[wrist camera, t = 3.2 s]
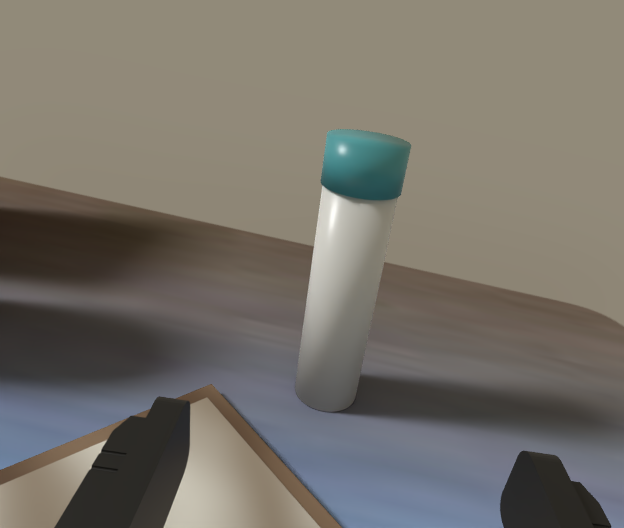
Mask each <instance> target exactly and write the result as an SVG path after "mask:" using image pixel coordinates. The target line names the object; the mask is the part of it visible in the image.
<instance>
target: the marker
mask: <svg viewBox="0 0 624 528" xmlns="http://www.w3.org/2000/svg"><path fill="white" fill-rule="evenodd" d="M410 149H411V144H410V143H409V142H407V141H404V140H403V139H400V138H397V137H393V136H390V135H386V134H381V133H375V132H369V131H362V130H350V129H349V130H348V129H340V130H339V129H338V130H331V131H329V132H328V133H327V139H326V147H325V154H324V161H323V169H322V176H321V184H322V185H323V186H322V193H321V200H320V208H319V216H318V223H317V229H316V237H315V244H314V251H313V259H312V266H311V273H310V280H309V288H308V295H307V302H306V309H305V317H304V324H303V331H302V339H301V346H300V353H299V360H298V368H297V375H296V382H295V391H296V394H297V396H298V397H299V399H300V400H301V401H302V402H303V403H304V404H306V405H307V406H309V407H311V408H313V409H316V410H320V411H325V412H336V411H341V410H344V409H346V408H348V407H349V406H350V405H352V403H353V402H354V400H355V397H356V393H357V388H358V383H359V379H360V374H361V369H362V364H363V360H364V355H365V350H366V345H367V341H368V336H369V331H370V326H371V322H372V317H373V312H374V308H375V303H376V298H377V293H378V289H379V284H380V279H381V274H382V270H383V265H384V260H385V255H386V250H387V246H388V241H389V236H390V232H391V227H392V222H393V217H394V212H395V208H396V203H397V198H398V197H399V196H400V195H401V191H402V186H403V182H404V177H405V172H406V168H407V163H408V158H409V153H410Z"/></svg>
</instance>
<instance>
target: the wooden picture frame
mask: <svg viewBox="0 0 624 528" xmlns="http://www.w3.org/2000/svg"><path fill="white" fill-rule="evenodd" d="M176 399H179V400H186V401H189V402H190V450H189V457H188V462H187V466H186V469H185V472H184V475H183V478H182V480H181V483H180V486H179V488H178V491H177V494H176V496H175V499H174V501H173V504H172V507H171V509H170V512H169V515H168V517H167V520H166V522H165V525H164V528H342V527H341V526H340V525H339V524H338V523H337V522H336V521H335V520H334V518H333V517H332V516H331V515H330V514H329V513H328V512H327V511H326V510H325V509H324V507H323V506H322V505H321V504H320V503H319V502H318V501H317V500H316V499H315V498H314V496H313V495H312V494H311V493H310V492H309V491H308V490H307V489H306V488H305V487H304V485H303V484H302V483H301V482H300V481H299V480H298V479H297V478H296V477H295V475H294V474H293V473H292V472H291V471H290V470H289V469H288V468H287V467H286V466H285V464H284V463H283V462H282V461H281V460H280V459H279V458H278V457H277V456H276V455H275V453H274V452H273V451H272V450H271V449H270V448H269V447H268V446H267V445H266V444H265V442H264V441H263V440H262V439H261V438H260V437H259V436H258V435H257V434H256V432H255V431H254V430H253V429H252V428H251V427H250V426H249V425H248V424H247V423H246V421H245V420H244V419H243V418H242V417H241V416H240V415H239V414H238V413H237V412H236V410H235V409H234V408H233V407H232V406H231V405H230V404H229V403H228V402H227V400H226V399H225V398H224V397H223V396H222V395H221V394H220V393H219V392H218V391H217V389H216V388H215V387H214V386H213V385H212V384H210V385H208V386H205V387H203V388H200V389H198V390H195V391H193V392H191V393H188V394H186V395H183V396H181V397H178V398H176ZM149 411H150V409H149V410H146V411H144V412H142V413H139V414H137V415H134V416H138V417H144V418H146V416H147V415H148V413H149ZM127 419H128V418H127ZM125 420H126V419H124V420H122V421H119V422H117V423H115V424H112V425H110V426H107V427H105V428H102V429H100V430H97V431H95V432H92V433H90V434H88V435H85V436H83V437H80V438H78V439H75V440H73V441H70V442H68V443H66V444H63V445H61V446H58V447H56V448H53V449H51V450H48V451H46V452H43V453H41V454H39V455H36V456H34V457H31V458H29V459H26V460H24V461H21V462H19V463H16V464H14V465H12V466H9V467H7V468H4V469H2V470H0V528H54V527H55V526H56V524H57V522H58V521H59V519H60V517H61V516H62V514H63V512H64V511H65V509H66V507H67V506H68V504H69V502H70V501H71V499H72V497H73V496H74V494H75V492H76V491H77V489H78V487H79V486H80V484H81V482H82V481H83V479H84V477H85V476H86V474H87V473H88V471H89V469H91V468H92V464H93V463H94V461H95V459H96V458H97V456H98V454H99V453H101V449H102V448H103V446H104V444H105V443H106V441H107V439H108V438H109V436H110V434H111V433H112V431H113V430H114V429H115V428H117V427H118V426H119V425H120V424H122V423H123V422H124V421H125Z"/></svg>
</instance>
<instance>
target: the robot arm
mask: <svg viewBox="0 0 624 528" xmlns="http://www.w3.org/2000/svg"><path fill="white" fill-rule="evenodd" d="M189 450H190V402H189V401H186V400H179V399H173V398H166V397H158V398H157V399H156V400H155V402H154V403H153V405H152V407H151V409H150V411H149V413H148V415H147V416H146V418H144V417H138V416H130V417H129V418H128V419H126V420H125V421H124V422H123V423H122V424H120V425H119V426H118V427H117V428H115V429H114V430H113V431H112V433H111V434H110V436H109V438H108V439H107V441H106V443H105V444H104V446H103V448H102V449H101V453H99V454H98V456H97V458H96V459H95V461H94V463H93V464H92V468H91V469H89V471H88V473H87V474H86V476H85V477H84V479H83V481H82V482H81V484H80V486H79V487H78V489H77V491H76V492H75V494H74V496H73V497H72V499H71V501H70V502H69V504H68V506H67V507H66V509H65V511H64V512H63V514H62V516H61V517H60V519H59V521H58V522H57V524H56V526H55V527H54V528H164V525H165V522H166V520H167V517H168V515H169V512H170V509H171V507H172V504H173V501H174V499H175V496H176V494H177V491H178V488H179V486H180V483H181V480H182V478H183V475H184V472H185V469H186V466H187V462H188V457H189ZM500 511H501V519H502V523H503V526H504V528H611V524H610V523H609V521H608V519H607V517H606V515H605V513H604V511H603V509H602V508H601V506H600V504H599V503H598V501H597V500H596V499H595V498H594V497H593V496H592V495H591V494H590V493H589V492H588V491H587V490H586V488H585V487H584V486H583V485H582V484H581V483H580V482H574V481H571V480H570V478H569V476H568V474H567V472H566V470H565V468H564V466H563V464H562V462H561V460H560V459H559V458H558V457H557V456H555V455H549V454H543V453H536V452H529V451H522V452H520V454H519V455H518V457H517V460H516V462H515V464H514V467H513V469H512V471H511V474H510V476H509V478H508V481H507V483H506V485H505V488H504V490H503V493H502V496H501V503H500Z"/></svg>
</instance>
